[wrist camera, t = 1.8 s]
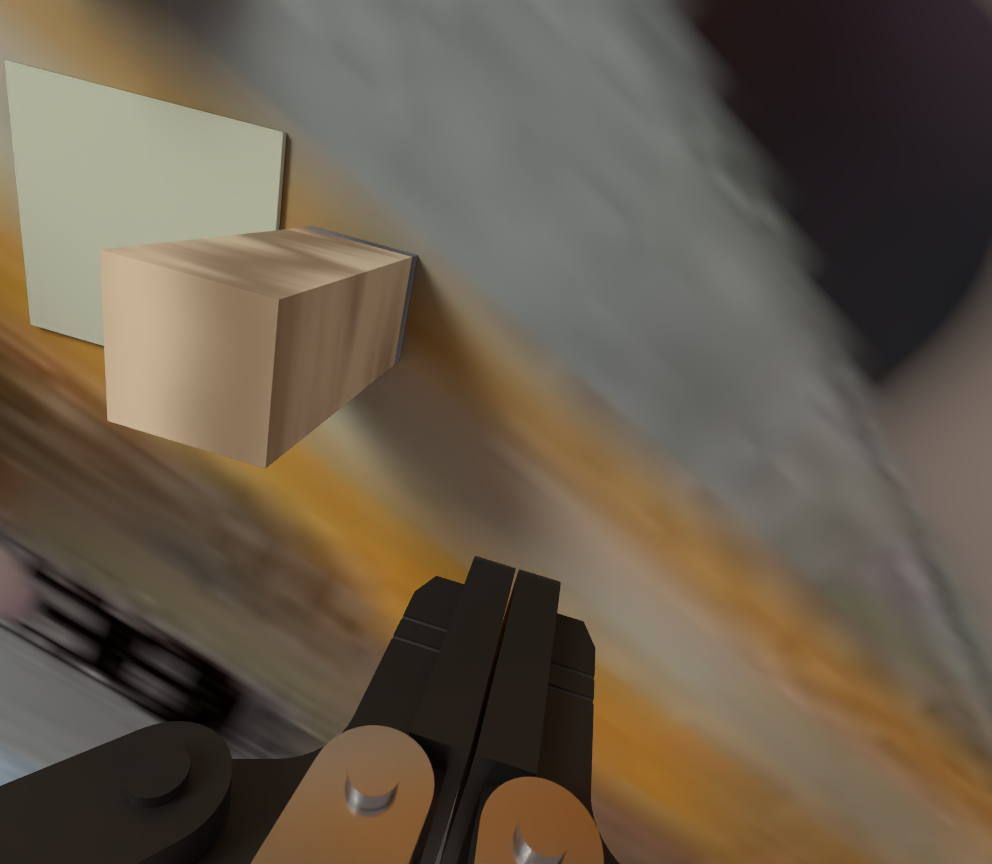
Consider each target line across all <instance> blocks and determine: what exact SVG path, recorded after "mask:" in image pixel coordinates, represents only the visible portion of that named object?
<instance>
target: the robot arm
mask: <svg viewBox="0 0 992 864" xmlns="http://www.w3.org/2000/svg"><path fill="white" fill-rule="evenodd" d="M515 569H516V568H513V567H510V566H507V565H503V564H500V563H497V562H493V561H490V560H487V559H484V558H480V557H477V556H475V557H474V560H473V562H472V565H471V568H470V571H469V573H468V576H467V579H466V581H465V584H461V583H457V582H454V581H451V580H448V579H445V578H441V577H438V576H435V577H434V578H433V579H431V580H430V581H429V582H427V583H426V584H425V585H423V586H422V587H420V588H419V589H418V590H416V591H415V592H414V594H413V596H412V598H411V600H410V602H409V605H408V607H407V609H406V611H405V613H404V615H403V618H402V619H401V621H400V623H399V625H398V627H397V629H396V631H395V633H394V636H393V639H391V641H390V643H389V645H388V647H387V649H386V651H385V653H384V656H383V658H382V660H381V662H380V664H379V666H378V668H377V670H376V672H375V674H374V676H373V678H372V680H371V682H370V684H369V686H368V688H367V690H366V692H365V694H364V696H363V698H362V700H361V702H360V704H359V706H358V709H357V711H356V713H355V715H354V717H353V718H352V720H351V722H350V723H349V725H348V726H347V727H346V728H345V730H344V731H343V732H342V733H341V734H339V735H338V736H336V737H335V738H334V739H332V740H331V741H330V742H329V743H328V744H327V745H326V746H324V747H322V748H320V749H318V750H316V751H314V752H311V753H308V754H305V755H302V756H298V757H293V758H284V759H232V757H231V754H230V751H229V748H228V746H227V744H226V743H225V741H224V740H223V739H222V738H221V737H220V736H219V735H218V734H217V733H216V732H214V731H213V730H211V729H210V728H208V727H205V726H203V725H200V724H196V723H192V722H182V721H174V722H164V723H159V724H155V725H151V726H148V727H145V728H142V729H139V730H137V731H135V732H132V733H130V734H127V735H125V736H122V737H120V738H117V739H115V740H112V741H110V742H107V743H105V744H103V745H100V746H98V747H95V748H93V749H90V750H88V751H85V752H83V753H80V754H78V755H75V756H73V757H71V758H68V759H66V760H63V761H61V762H58V763H56V764H53V765H51V766H48V767H46V768H44V769H41V770H39V771H36V772H34V773H31V774H29V775H26V776H24V777H21V778H19V779H16V780H14V781H12V782H9V783H7V784H4V785H2V786H0V864H435V861H436V858H437V855H438V852H439V849H440V846H441V842H442V839H443V836H444V833H445V830H446V826H447V823H448V820H449V817H450V814H451V810H452V807H453V804H454V801H455V798H456V801H455V805H454V809H453V813H452V817H451V821H450V825H449V829H448V833H447V837H446V841H445V845H444V849H443V853H442V857H441V860H440V864H619V863H618V861H617V860H616V859H615V858H614V856H613V855H612V854H611V852H610V851H609V849H608V848H607V846H606V844H605V843H604V841H603V839H602V837H601V835H600V833H599V831H598V829H597V826H596V823H595V820H594V817H593V811H592V806H591V773H592V740H593V707H594V704H593V699H594V680H593V679H594V674H595V646H594V644H593V642H592V640H591V637H590V635H589V633H588V630H587V628H586V626H585V624H584V622H583V621H580V620H577V619H574V618H570V617H567V616H564V615H561V614H558V613H557V609H558V601H559V593H560V582H559V581H556V580H553V579H549V578H546V577H543V576H540V575H536V574H533V573H530V572H527V571H523V570H520V569H519V571H518V574H517V577H516V580H515V583H514V587H513V590H512V593H511V597H510V600H509V603H508V606H507V610H506V613H505V609H506V605H507V601H508V597H509V593H510V589H511V585H512V581H513V577H514V573H515ZM504 613H505V616H504ZM503 617H504V619H503ZM502 621H503V623H502ZM501 625H502V626H501ZM459 785H460V786H459ZM458 788H459V789H458ZM457 791H458V793H457ZM456 795H457V797H456Z"/></svg>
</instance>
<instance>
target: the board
mask: <svg viewBox="0 0 992 864" xmlns="http://www.w3.org/2000/svg"><path fill="white" fill-rule="evenodd" d="M5 69H6V80H7V90H8V100H9V110H10V120H11V131H12V141H13V151H14V161H15V172H16V182H17V192H18V202H19V212H20V223H21V233H22V243H23V253H24V263H25V274H26V284H27V294H28V304H29V314H30V325H34V326H37V327H41V328H44V329H47V330H51V331H54V332H58V333H61V334H65V335H68V336H71V337H75V338H78V339H82V340H85V341H88V342H92V343H95V344H99V345H102V346H104V331H103V309H102V287H101V265H100V249H108V248H117V247H126V246H136V245H145V244H154V243H164V242H173V241H182V240H191V239H201V238H210V237H219V236H229V235H238V234H247V233H257V232H266V231H275V230H279V227H280V214H281V201H282V187H283V174H284V161H285V148H286V135H287V133H285V132H281V131H277V130H273V129H269V128H265V127H261V126H258V125H254V124H250V123H246V122H242V121H238V120H234V119H231V118H227V117H223V116H219V115H215V114H211V113H207V112H204V111H200V110H196V109H192V108H188V107H184V106H181V105H177V104H173V103H169V102H165V101H161V100H157V99H154V98H150V97H146V96H142V95H138V94H134V93H130V92H127V91H123V90H119V89H115V88H111V87H107V86H103V85H100V84H96V83H92V82H88V81H84V80H80V79H77V78H73V77H69V76H65V75H61V74H57V73H53V72H50V71H46V70H42V69H38V68H34V67H30V66H26V65H23V64H19V63H15V62H11V61H7V60H5Z"/></svg>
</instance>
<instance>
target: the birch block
mask: <svg viewBox="0 0 992 864" xmlns="http://www.w3.org/2000/svg"><path fill="white" fill-rule="evenodd" d="M417 256H418V255H415V254H411V253H408V252H404V251H400V250H397V249H393V248H389V247H386V246H382V245H378V244H374V243H371V242H367V241H363V240H360V239H356V238H352V237H349V236H345V235H341V234H337V233H334V232H330V231H326V230H323V229H319V228H315V227H303V228H294V229H284V230H275V231H266V232H257V233H247V234H238V235H229V236H219V237H210V238H201V239H191V240H182V241H173V242H164V243H154V244H145V245H136V246H126V247H117V248H108V249H100V265H101V287H102V309H103V331H104V353H105V375H106V397H107V419H108V421H110V422H113V423H116V424H120V425H123V426H126V427H129V428H133V429H136V430H139V431H143V432H146V433H149V434H153V435H156V436H159V437H163V438H166V439H169V440H172V441H176V442H179V443H182V444H186V445H189V446H192V447H196V448H199V449H202V450H206V451H209V452H212V453H215V454H219V455H222V456H225V457H229V458H232V459H235V460H239V461H242V462H245V463H249V464H252V465H255V466H258V467H262V468H265V469H266V468H267V467H268V466H269V465H270V464H272V463H273V462H274V461H275V460H277V459H278V458H279V457H280V456H282V455H283V454H284V453H285V452H287V451H288V450H289V449H290V448H292V447H293V446H294V445H295V444H297V443H298V442H299V441H300V440H302V439H303V438H304V437H305V436H307V435H308V434H309V433H310V432H312V431H313V430H314V429H315V428H317V427H318V426H319V425H320V424H321V423H323V422H324V421H325V420H326V419H328V418H329V417H330V416H331V415H333V414H334V413H335V412H336V411H338V410H339V409H340V408H341V407H343V406H344V405H345V404H346V403H348V402H349V401H350V400H351V399H353V398H354V397H355V396H356V395H358V394H359V393H360V392H361V391H363V390H364V389H365V388H366V387H368V386H369V385H370V384H371V383H373V382H374V381H375V380H376V379H377V378H379V377H380V376H381V375H382V374H384V373H385V372H386V371H387V370H389V369H390V368H391V367H392V366H394V365H395V364H396V363H397V362H399V360H400V355H401V349H402V343H403V337H404V331H405V326H406V320H407V314H408V308H409V302H410V297H411V291H412V285H413V279H414V273H415V268H416V262H417Z"/></svg>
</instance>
